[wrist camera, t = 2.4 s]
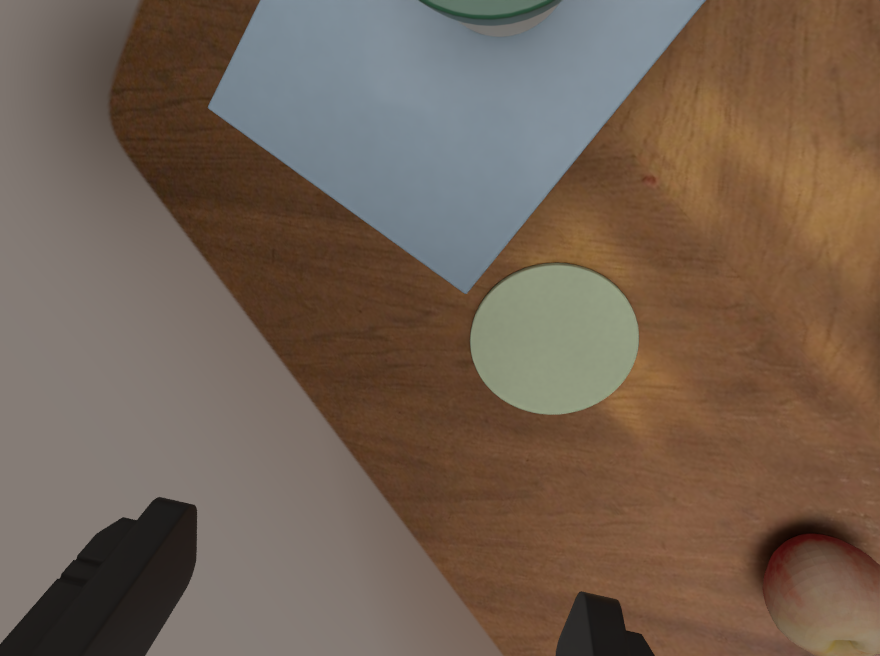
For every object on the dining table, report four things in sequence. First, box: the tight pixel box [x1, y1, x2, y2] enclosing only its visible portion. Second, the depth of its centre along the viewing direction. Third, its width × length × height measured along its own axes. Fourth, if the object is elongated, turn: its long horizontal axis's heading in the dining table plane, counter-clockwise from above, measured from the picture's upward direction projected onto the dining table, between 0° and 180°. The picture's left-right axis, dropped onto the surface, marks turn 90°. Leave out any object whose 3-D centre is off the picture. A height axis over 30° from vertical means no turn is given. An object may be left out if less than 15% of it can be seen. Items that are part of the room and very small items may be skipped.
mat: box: [470, 263, 639, 414], centre depth 39 cm, size 11×11×1 cm
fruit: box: [763, 533, 880, 656], centre depth 41 cm, size 8×8×8 cm
